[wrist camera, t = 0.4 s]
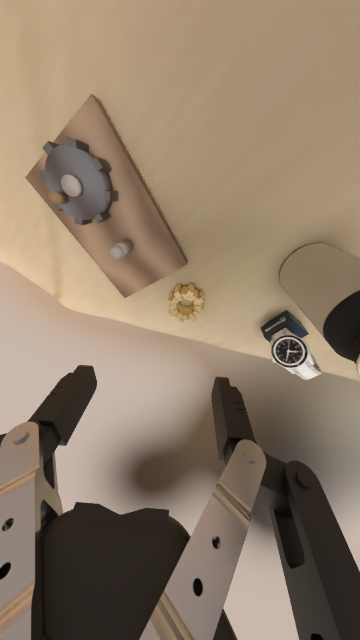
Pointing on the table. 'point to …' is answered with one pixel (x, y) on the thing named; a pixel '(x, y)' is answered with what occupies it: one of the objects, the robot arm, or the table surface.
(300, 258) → the travel mug
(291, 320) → the watch
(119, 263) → the gear board
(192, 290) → the brass gear
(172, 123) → the table surface
